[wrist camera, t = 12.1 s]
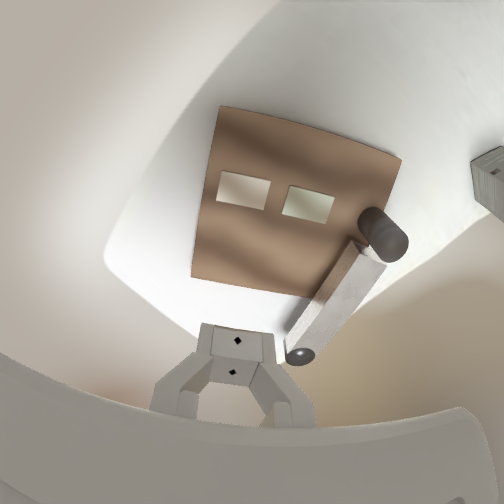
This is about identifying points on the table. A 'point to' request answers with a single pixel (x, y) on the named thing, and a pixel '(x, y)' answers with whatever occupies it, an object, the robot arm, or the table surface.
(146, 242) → the table surface
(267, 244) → the label board
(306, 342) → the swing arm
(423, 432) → the robot arm
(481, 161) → the skincare box
